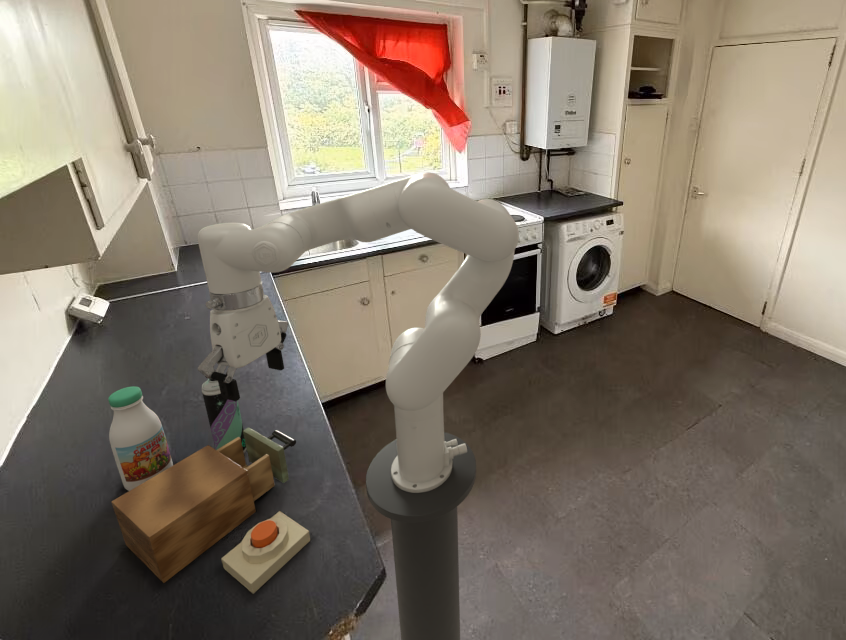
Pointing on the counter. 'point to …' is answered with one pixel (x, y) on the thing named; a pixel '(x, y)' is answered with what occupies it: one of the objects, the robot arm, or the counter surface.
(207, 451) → the cabinet
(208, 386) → the spray can
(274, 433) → the drawer
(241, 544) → the button box
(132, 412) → the milk bottle
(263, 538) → the button
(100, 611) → the counter surface
